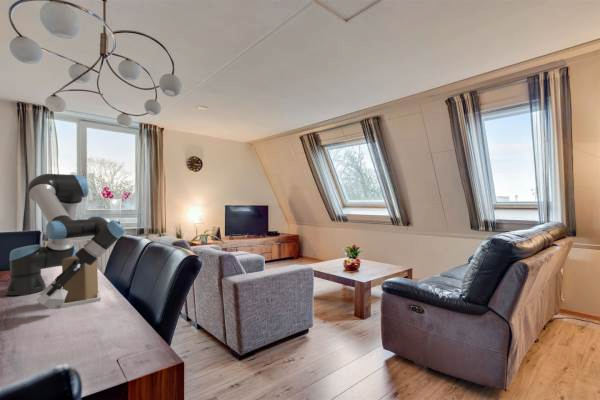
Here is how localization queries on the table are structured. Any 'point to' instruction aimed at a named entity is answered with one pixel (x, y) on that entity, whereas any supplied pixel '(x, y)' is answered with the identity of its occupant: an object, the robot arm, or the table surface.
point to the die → (55, 298)
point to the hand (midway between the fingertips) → (41, 298)
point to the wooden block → (81, 281)
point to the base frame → (81, 301)
